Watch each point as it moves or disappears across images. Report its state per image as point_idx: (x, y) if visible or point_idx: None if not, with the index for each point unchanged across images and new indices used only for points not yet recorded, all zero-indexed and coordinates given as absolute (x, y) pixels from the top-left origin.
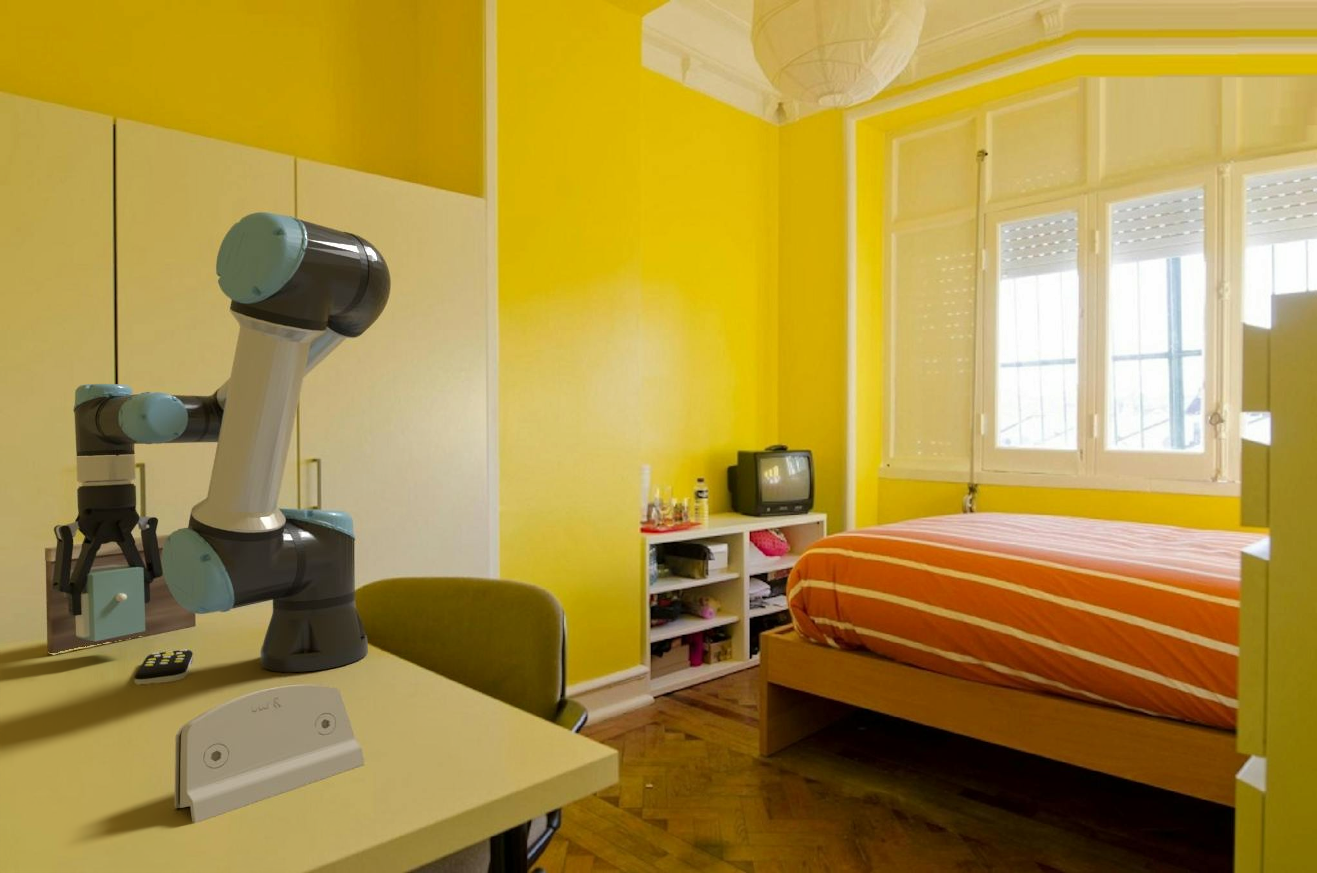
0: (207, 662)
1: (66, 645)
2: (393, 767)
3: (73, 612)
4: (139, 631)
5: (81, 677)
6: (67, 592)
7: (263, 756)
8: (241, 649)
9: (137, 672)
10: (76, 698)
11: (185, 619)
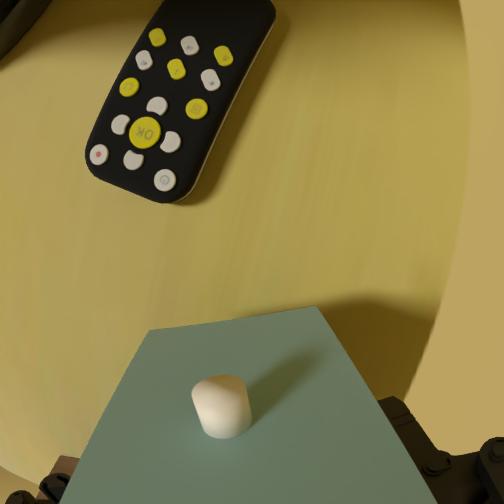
0: (86, 89)
1: None
2: None
3: (401, 404)
4: (167, 330)
5: (351, 196)
6: (464, 455)
7: None
8: (4, 164)
9: (266, 22)
10: (386, 29)
11: (68, 469)
